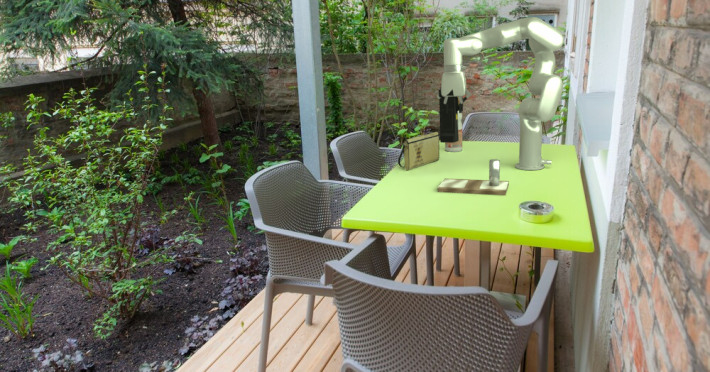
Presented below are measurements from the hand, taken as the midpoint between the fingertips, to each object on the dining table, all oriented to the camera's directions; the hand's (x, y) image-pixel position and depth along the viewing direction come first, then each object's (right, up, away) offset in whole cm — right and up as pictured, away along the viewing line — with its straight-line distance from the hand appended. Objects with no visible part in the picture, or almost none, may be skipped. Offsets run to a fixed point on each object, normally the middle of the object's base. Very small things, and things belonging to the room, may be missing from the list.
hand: (453, 112), depth 211 cm
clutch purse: (-11, -21, +34) cm, 42 cm away
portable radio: (-1, -12, +4) cm, 13 cm away
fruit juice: (+13, -12, +65) cm, 67 cm away
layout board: (+6, -32, -11) cm, 34 cm away
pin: (+13, -31, -14) cm, 37 cm away
